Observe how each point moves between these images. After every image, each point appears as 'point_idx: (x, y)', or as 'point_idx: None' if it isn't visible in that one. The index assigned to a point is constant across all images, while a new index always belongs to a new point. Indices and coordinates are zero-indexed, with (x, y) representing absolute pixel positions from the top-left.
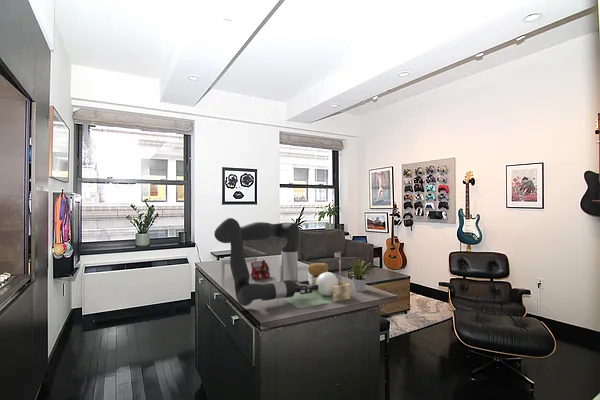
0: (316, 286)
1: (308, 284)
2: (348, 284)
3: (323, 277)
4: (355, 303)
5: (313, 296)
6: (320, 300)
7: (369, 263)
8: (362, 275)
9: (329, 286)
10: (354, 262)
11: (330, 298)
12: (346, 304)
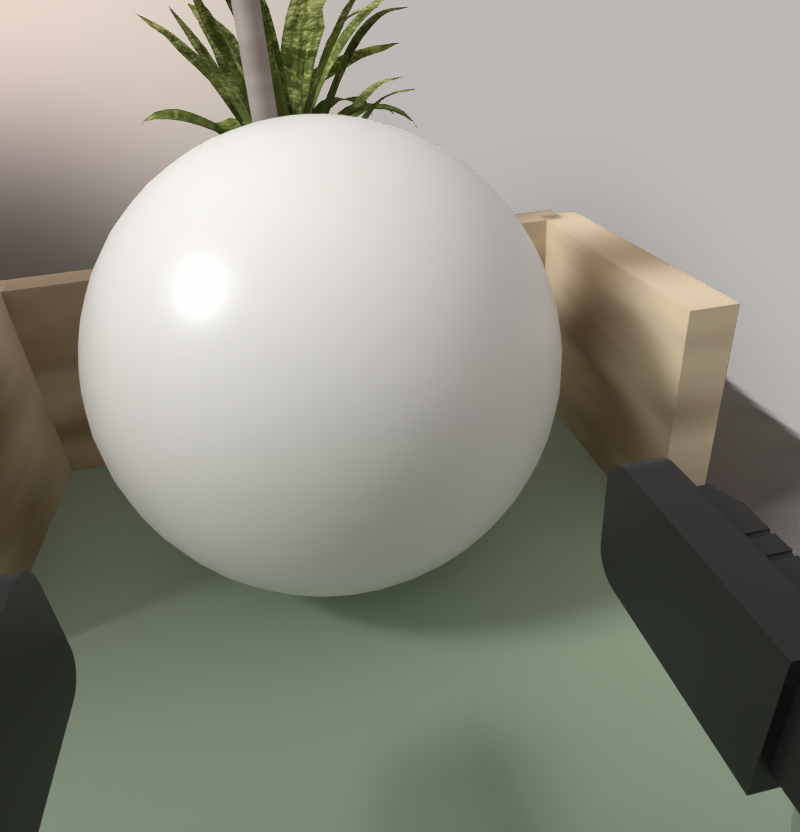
0: (748, 520)
1: (67, 666)
2: (565, 217)
3: (424, 222)
4: (729, 384)
5: (300, 766)
6: (629, 708)
7: (315, 4)
8: (405, 116)
9: (561, 355)
10: (155, 25)
11: (525, 534)
12: (786, 449)
